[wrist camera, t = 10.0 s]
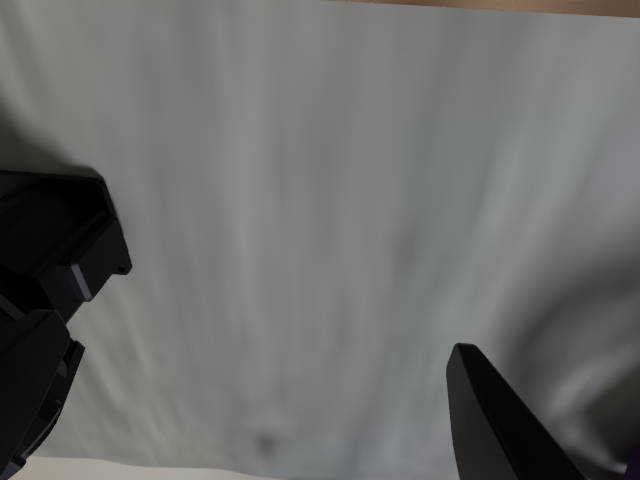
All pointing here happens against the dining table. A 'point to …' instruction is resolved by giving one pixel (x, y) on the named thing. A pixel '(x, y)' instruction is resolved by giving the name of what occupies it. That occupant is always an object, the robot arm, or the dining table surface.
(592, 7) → the bay
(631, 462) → the decorative bottle
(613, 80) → the dining table surface
